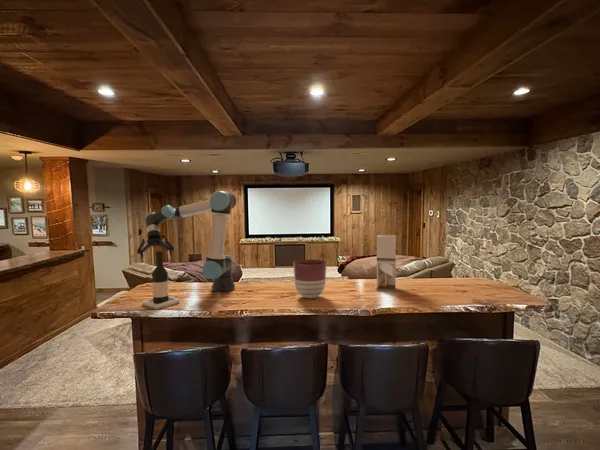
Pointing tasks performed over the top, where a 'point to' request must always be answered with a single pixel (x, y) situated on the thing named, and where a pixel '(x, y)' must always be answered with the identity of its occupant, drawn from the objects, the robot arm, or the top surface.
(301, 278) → the planter
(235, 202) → the robot arm
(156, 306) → the grey dish
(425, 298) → the top surface
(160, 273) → the wine bottle
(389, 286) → the beige dispenser tower
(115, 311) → the top surface
